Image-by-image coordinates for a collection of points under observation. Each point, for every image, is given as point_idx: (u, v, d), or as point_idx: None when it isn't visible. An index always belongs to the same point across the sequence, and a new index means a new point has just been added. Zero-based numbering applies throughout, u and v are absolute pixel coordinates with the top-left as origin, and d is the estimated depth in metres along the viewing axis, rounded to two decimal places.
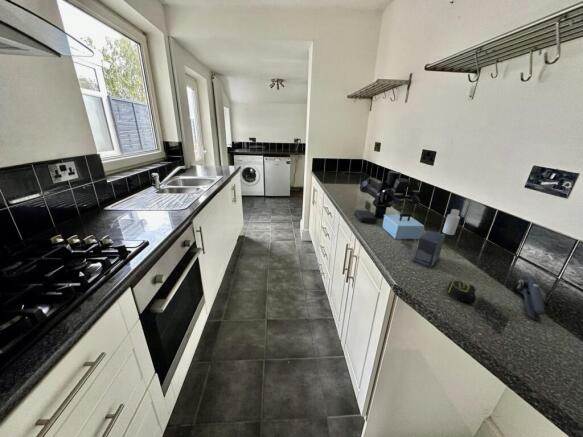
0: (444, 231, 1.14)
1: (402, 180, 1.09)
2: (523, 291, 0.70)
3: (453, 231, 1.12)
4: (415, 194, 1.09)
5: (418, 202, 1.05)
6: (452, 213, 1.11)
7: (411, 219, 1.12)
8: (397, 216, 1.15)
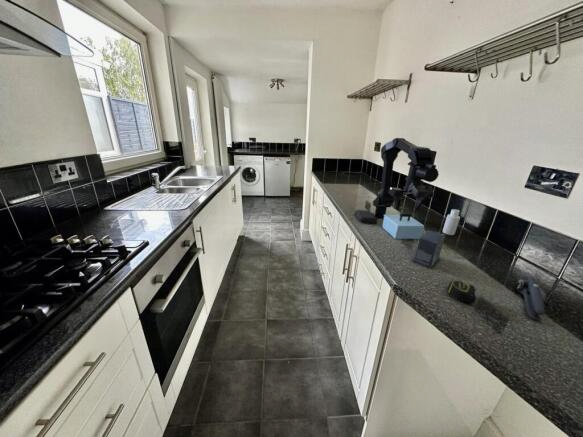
0: (444, 231, 1.14)
1: (421, 195, 0.97)
2: (523, 291, 0.70)
3: (453, 231, 1.12)
4: (423, 199, 1.04)
5: (415, 208, 1.08)
6: (452, 213, 1.11)
7: (411, 219, 1.12)
8: (397, 216, 1.15)
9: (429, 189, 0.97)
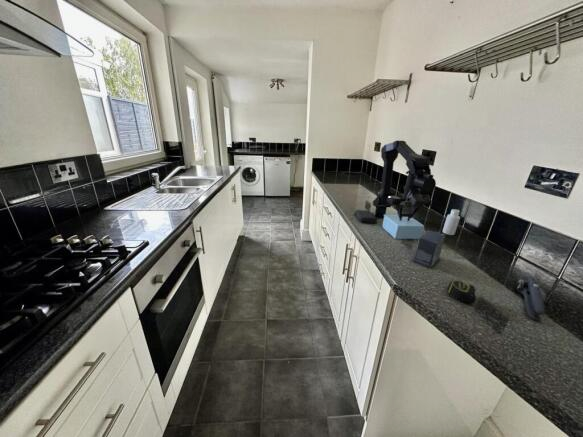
0: (444, 231, 1.14)
1: (418, 204, 0.99)
2: (523, 291, 0.70)
3: (453, 231, 1.12)
4: (417, 207, 1.06)
5: None
6: (452, 213, 1.11)
7: (411, 219, 1.12)
8: (397, 216, 1.15)
9: (427, 198, 0.98)
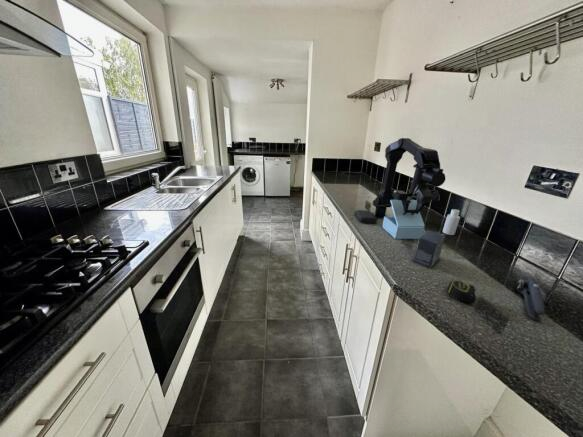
0: (444, 231, 1.14)
1: (426, 200, 0.94)
2: (523, 291, 0.70)
3: (453, 231, 1.12)
4: (424, 203, 1.01)
5: None
6: (452, 213, 1.11)
7: None
8: None
9: (435, 193, 0.93)
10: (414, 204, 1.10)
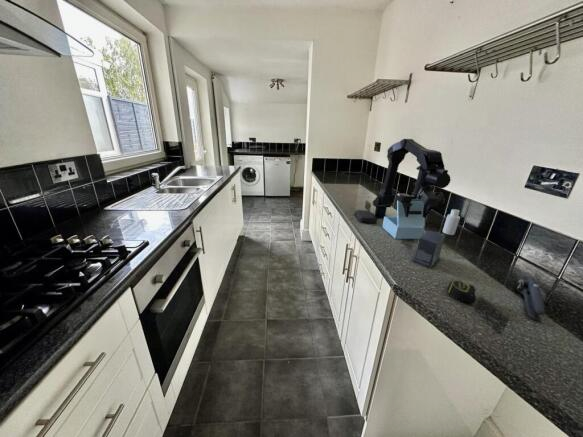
0: (444, 231, 1.14)
1: (431, 202, 0.91)
2: (523, 291, 0.70)
3: (453, 231, 1.12)
4: (432, 206, 0.98)
5: (423, 215, 1.02)
6: (452, 213, 1.11)
7: (420, 209, 1.05)
8: None
9: (440, 195, 0.91)
10: (421, 201, 1.05)
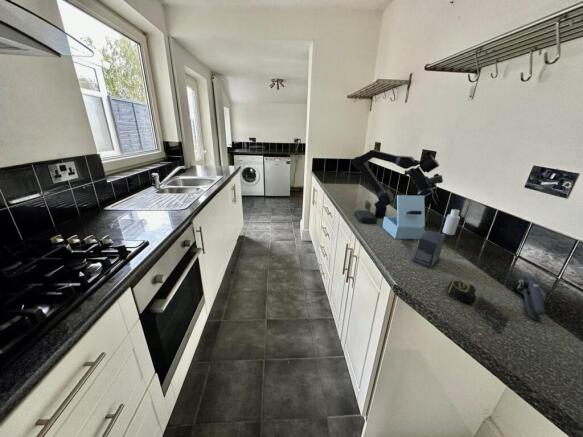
0: (444, 231, 1.14)
1: (442, 179, 1.10)
2: (523, 291, 0.70)
3: (453, 231, 1.12)
4: (435, 189, 1.18)
5: (437, 201, 1.18)
6: (452, 213, 1.11)
7: (420, 209, 1.05)
8: (410, 201, 1.04)
9: (438, 174, 1.13)
10: (421, 201, 1.05)
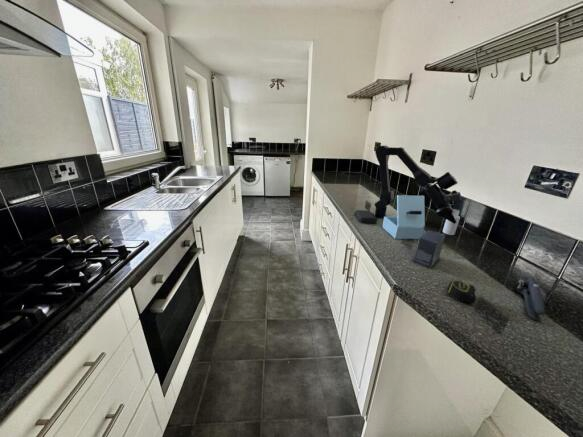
0: (444, 231, 1.14)
1: (460, 196, 1.08)
2: (523, 291, 0.70)
3: (453, 231, 1.12)
4: None
5: None
6: (452, 213, 1.11)
7: (420, 209, 1.05)
8: (410, 201, 1.04)
9: (456, 191, 1.11)
10: (421, 201, 1.05)
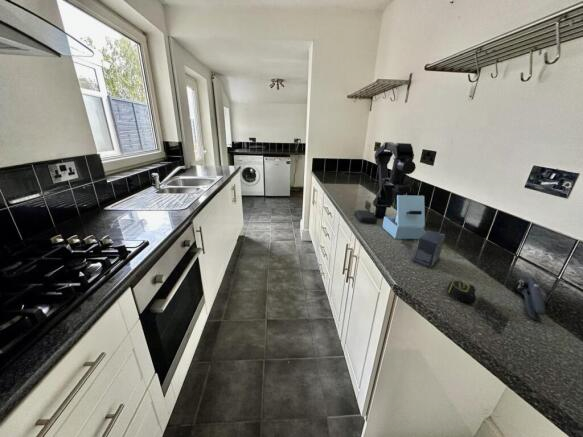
0: None
1: None
2: (523, 292, 0.70)
3: None
4: None
5: (387, 197, 1.21)
6: None
7: (420, 209, 1.05)
8: (410, 201, 1.04)
9: None
10: (421, 201, 1.05)
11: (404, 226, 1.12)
